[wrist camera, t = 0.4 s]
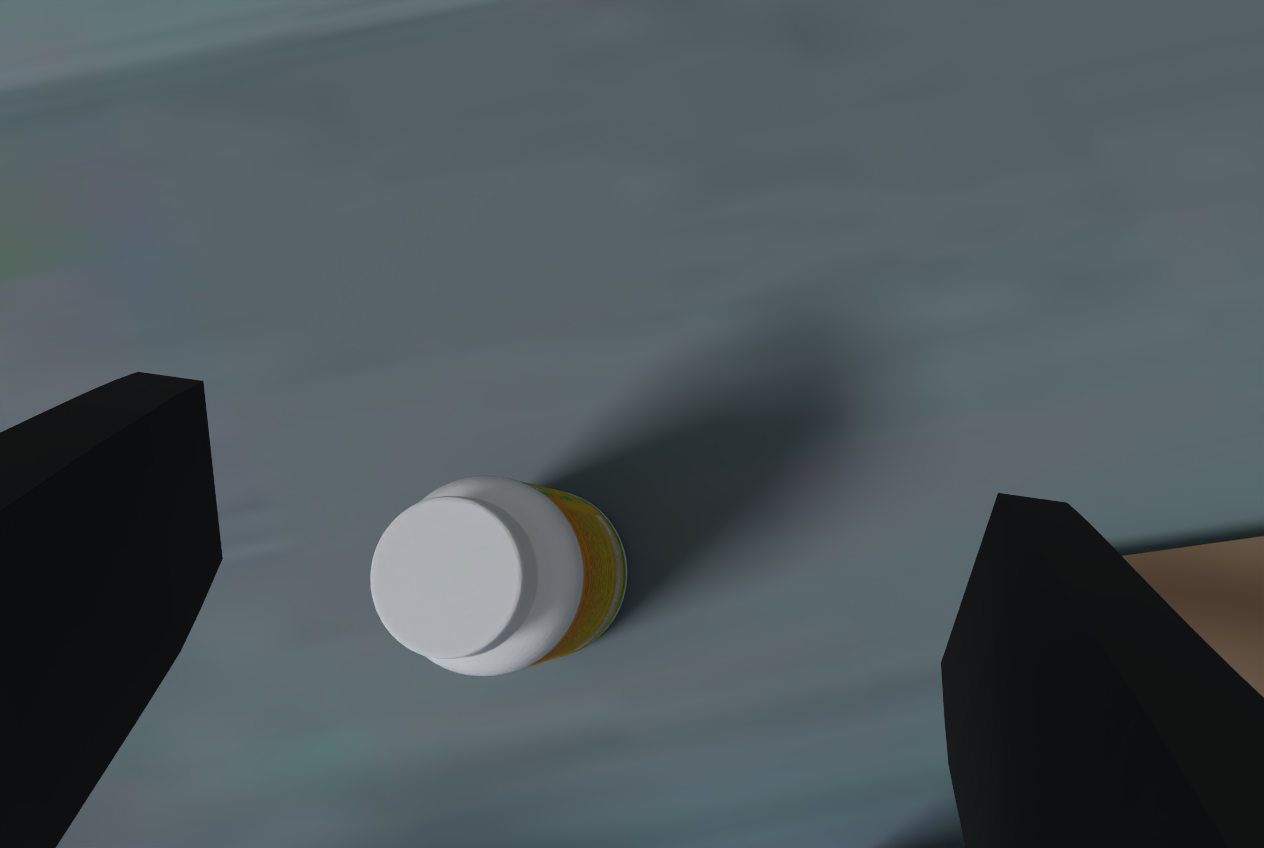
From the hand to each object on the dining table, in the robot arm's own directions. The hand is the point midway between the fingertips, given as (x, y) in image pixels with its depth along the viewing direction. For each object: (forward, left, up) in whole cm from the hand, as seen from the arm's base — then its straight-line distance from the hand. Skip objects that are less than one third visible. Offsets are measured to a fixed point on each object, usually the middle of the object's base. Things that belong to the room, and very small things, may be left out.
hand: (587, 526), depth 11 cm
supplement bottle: (0, +7, -26) cm, 27 cm away
